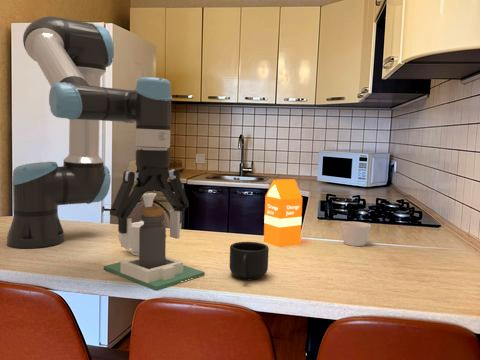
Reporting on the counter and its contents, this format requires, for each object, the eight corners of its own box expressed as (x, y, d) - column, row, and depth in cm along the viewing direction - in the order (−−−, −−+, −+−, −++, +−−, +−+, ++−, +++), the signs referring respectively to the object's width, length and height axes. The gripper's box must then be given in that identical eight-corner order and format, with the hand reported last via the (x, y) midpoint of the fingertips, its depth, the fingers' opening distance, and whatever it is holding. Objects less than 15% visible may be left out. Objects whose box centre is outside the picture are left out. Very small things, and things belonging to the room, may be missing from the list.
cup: (145, 258, 110) (145, 227, 110) (112, 254, 113) (112, 224, 112) (157, 251, 117) (158, 223, 116) (125, 248, 120) (126, 220, 119)
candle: (358, 239, 139) (359, 221, 138) (375, 246, 130) (377, 226, 130) (335, 241, 136) (336, 222, 135) (350, 248, 127) (351, 227, 127)
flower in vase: (171, 234, 139) (172, 158, 137) (157, 242, 128) (158, 160, 125) (135, 231, 142) (136, 157, 139) (118, 238, 131) (118, 158, 128)
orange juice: (300, 243, 131) (303, 180, 129) (279, 247, 126) (281, 180, 124) (284, 238, 138) (287, 177, 136) (263, 241, 133) (265, 178, 131)
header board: (103, 269, 100) (103, 255, 100) (151, 257, 111) (151, 245, 110) (156, 290, 87) (156, 275, 87) (204, 275, 98) (204, 261, 97)
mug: (233, 268, 104) (234, 240, 103) (269, 271, 102) (270, 243, 101) (222, 284, 92) (223, 252, 91) (263, 288, 90) (264, 256, 90)
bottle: (134, 272, 96) (134, 207, 94) (155, 267, 100) (155, 205, 99) (149, 278, 92) (149, 211, 90) (170, 272, 96) (171, 208, 95)
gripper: (113, 149, 81) (112, 256, 84) (204, 149, 100) (202, 236, 103) (92, 148, 86) (92, 248, 88) (183, 148, 105) (182, 231, 107)
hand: (151, 242), depth 96 cm, fingers open, 13 cm apart
